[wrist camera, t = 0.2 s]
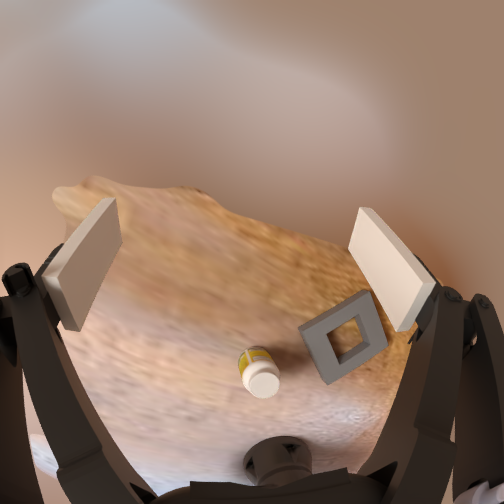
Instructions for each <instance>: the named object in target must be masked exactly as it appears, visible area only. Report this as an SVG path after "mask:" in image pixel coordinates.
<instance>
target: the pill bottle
mask: <svg viewBox="0 0 504 504" xmlns="http://www.w3.org/2000/svg"><path fill="white" fill-rule="evenodd" d="M238 366H239V370H240V374H241V378H242V381H243V384H244V386H245V388H246V389H247V390H248V391H250V392H251V393H252V394H253V395H254V396H255V397H257V398H261V399H265V398H269V397H272V396H273V395H275V394H276V393H277V391H278V390H279V387H280V382H279V381H280V372H279V370H278V368H277V366H276V364H275V363H274V361H273V360H272V358H271V356H270V355H269V353H268V352H267V351H266V350H265V349H263V348H261V347H250V348H248V349H246V350H244V351H243V352H242V353H241V355H240V356H239V359H238Z"/></svg>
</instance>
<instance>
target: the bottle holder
mask: <svg viewBox="0 0 504 504" xmlns="http://www.w3.org/2000/svg"><path fill="white" fill-rule="evenodd" d="M353 317H355V320H356V322H357V325H358V327H359V330H360V333H361V335H362V338H363V342H362V343H360V344H359V345H357V346H355V347H354V348H352V349H351V350H349V351H348V352H346V353H344V354H343V355H341V356H340V357H338V358H336V356H335V353H334V351H333V349H332V346H331V344H330V342H329V340H328V337H327V335H326V334H327V333H328V332H330V331H332V330H333V329H335V328H337V327H338V326H340V325H342V324H343V323H345V322H347V321H348V320H350V319H351V318H353ZM298 329H299V332H300V334H301V336H302V338H303V340H304V342H305V344H306V346H307V348H308V351H309V353H310V355H311V357H312V359H313V361H314V363H315V365H316V368H317V370H318V372H319V374H320V376H321V378H322V380H323V381H324V382H325V383H326V384H327V385H329V384H331V383H333V382H334V381H336V380H338V379H339V378H341V377H343V376H344V375H346V374H347V373H349V372H351V371H352V370H354V369H355V368H357V367H358V366H360V365H361V364H363V363H364V362H366V361H367V360H369V359H370V358H372V357H373V356H375V355H376V354H378V353H379V352H380V351H382V350H383V349H385V348H386V347H387V346H389V345H388V342H387V339H386V336H385V333H384V330H383V327H382V324H381V321H380V318H379V316H378V313H377V310H376V307H375V304H374V302H373V299H372V296H371V294H370V291H366V290H361V291H359V292H358V293H356V294H354V295H353V296H351V297H350V298H348V299H346V300H345V301H343V302H341V303H340V304H338V305H336V306H335V307H333V308H331V309H330V310H328V311H326V312H324V313H323V314H321V315H319V316H317V317H316V318H314V319H312V320H310V321H309V322H307V323H305V324H303V325H301V326H300V327H298Z"/></svg>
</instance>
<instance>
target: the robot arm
mask: <svg viewBox="0 0 504 504" xmlns="http://www.w3.org/2000/svg"><path fill="white" fill-rule="evenodd" d="M122 243H123V242H122V237H121V231H120V224H119V218H118V211H117V204H116V198H103V199H102V200H101V201H100V202H99V203H98V204H97V205H96V206H95V208H94V209H93V210H92V211H91V212H90V213H89V215H88V216H87V217H86V218H85V219H84V220H83V222H82V223H81V224H80V225H79V226H78V228H77V229H76V230H75V231H74V233H73V234H72V235H71V236H70V238H69V239H68V240H67V241H66V243H65V244H64V243H62V244H60V245H59V246H58V247H56V248H55V249H54V250H53V251H52V252H51V254H50V255H49V257H48V258H47V259H46V260H45V262H44V264H42V266H41V267H40V268H39V270H38V271H37V273H36V274H35V276H33V274H32V271H31V269H30V267H29V265H28V264H27V263H18V264H15V265H13V266H11V267H10V268H9V269H7V270H6V271H5V273H4V274H3V276H2V282H3V284H4V286H5V288H6V290H7V292H8V294H9V296H4V297H0V504H44V501H43V498H42V494H41V491H40V487H39V484H38V480H37V476H36V473H35V468H34V464H33V459H32V455H31V450H30V444H29V439H28V432H27V425H26V417H25V407H24V395H23V375H22V374H23V372H24V375H25V379H26V383H27V386H28V390H29V392H30V396H31V399H32V402H33V405H34V408H35V411H36V414H37V416H38V419H39V422H40V424H41V427H42V429H43V432H44V434H45V436H46V439H47V441H48V443H49V446H50V448H51V450H52V452H53V454H54V456H55V458H56V460H57V463H58V466H59V469H58V470H57V472H56V473H57V478H58V480H59V483H60V485H61V487H62V489H63V490H64V492H65V494H66V496H67V497H68V499H69V501H70V502H71V504H441V502H442V499H443V496H444V493H445V491H446V488H447V485H448V482H449V478H450V475H451V472H452V469H453V483H452V485H453V486H452V487H453V488H452V489H453V504H504V334H503V331H502V328H501V325H500V322H499V319H498V317H497V314H496V311H495V309H494V306H493V304H492V303H491V302H490V300H489V299H488V298H487V297H486V296H485V295H482V294H475V295H474V297H473V299H472V300H471V302H469V301H465V300H463V298H462V296H461V295H460V294H459V293H458V292H457V291H456V290H454V289H453V288H451V287H447V286H443V287H442V286H441V284H440V283H439V282H438V280H437V279H436V278H435V277H434V275H433V274H432V273H431V272H430V271H429V270H428V268H427V267H426V266H424V263H423V262H422V261H421V260H420V258H419V257H417V256H416V255H414V254H413V253H412V252H410V250H409V249H408V248H407V247H406V246H405V244H404V243H403V242H402V241H401V240H400V239H399V238H398V236H397V235H396V234H395V233H394V232H393V231H392V230H391V229H390V228H389V227H388V225H386V223H385V222H384V221H383V220H382V219H381V218H380V217H379V216H378V215H377V214H376V213H375V212H374V211H373V210H372V209H371V208H364V207H360V208H359V212H358V215H357V219H356V223H355V227H354V230H353V234H352V237H351V240H350V244H349V247H348V249H349V251H350V253H351V254H352V256H353V258H354V259H355V261H356V262H357V264H358V266H359V267H360V269H361V271H362V272H363V274H364V276H365V277H366V279H367V281H368V282H369V284H370V286H371V288H372V289H373V291H374V293H375V294H376V296H377V298H378V300H379V302H380V303H381V305H382V307H383V309H384V311H385V312H386V314H387V316H388V318H389V320H390V322H391V323H392V325H393V327H394V329H395V331H396V332H401V331H408V330H410V328H411V326H412V325H413V323H414V321H416V323H417V324H418V328H417V329H416V331H415V332H414V334H413V336H412V337H411V339H410V340H409V342H408V344H410V343H411V342H412V341H413V342H412V345H411V349H410V353H409V356H408V360H407V363H406V367H405V370H404V373H403V376H402V379H401V382H400V385H399V388H398V391H397V394H396V397H395V400H394V402H393V405H392V408H391V410H390V413H389V416H388V418H387V420H386V423H385V425H384V428H383V430H382V432H381V435H380V437H379V439H378V441H377V444H376V446H375V448H374V450H373V452H372V454H371V456H370V457H369V459H368V460H367V461H366V462H365V463H364V465H363V466H362V467H361V468H360V470H359V471H358V473H357V474H352V473H348V471H347V467H346V468H342V469H338V470H333V471H328V472H323V473H318V474H312V456H311V453H310V450H309V449H308V447H307V445H306V444H305V443H304V442H303V441H301V440H300V439H297V438H294V437H288V436H280V437H273V438H269V439H266V440H264V441H261V442H259V443H258V444H256V445H255V446H253V447H252V448H251V449H250V450H249V451H248V452H247V454H246V455H245V457H244V462H243V464H244V470H245V473H246V475H247V477H248V478H249V479H250V480H251V482H252V483H253V484H254V485H255V486H248V485H243V484H237V483H232V482H196V481H190V486H188V487H182V488H179V489H175V490H172V491H170V492H167V493H165V494H163V495H161V496H159V497H158V496H157V495H156V493H155V492H154V491H153V490H152V489H151V488H150V486H149V485H148V484H147V483H146V482H145V481H144V480H143V479H142V477H141V476H140V475H139V474H138V473H137V472H136V471H135V470H134V469H133V467H132V466H131V465H130V463H129V462H128V461H127V459H126V458H125V456H124V455H123V453H122V452H121V451H120V449H119V448H118V446H117V445H116V443H115V442H114V440H113V438H112V437H111V435H110V434H109V432H108V430H107V429H106V427H105V426H104V424H103V422H102V420H101V419H100V417H99V415H98V414H97V412H96V410H95V408H94V406H93V405H92V403H91V401H90V399H89V397H88V395H87V393H86V391H85V389H84V387H83V385H82V383H81V381H80V379H79V377H78V375H77V373H76V370H75V368H74V366H73V364H72V361H71V359H70V357H69V354H68V352H67V350H66V347H65V345H64V342H63V340H62V337H61V334H60V332H59V330H58V328H57V325H58V323H59V321H60V320H61V322H62V324H63V326H64V328H65V330H71V331H78V332H80V331H81V329H82V326H83V324H84V322H85V319H86V317H87V315H88V312H89V310H90V308H91V305H92V303H93V301H94V299H95V297H96V294H97V292H98V290H99V288H100V286H101V284H102V282H103V280H104V278H105V276H106V274H107V272H108V270H109V268H110V266H111V264H112V262H113V260H114V258H115V256H116V254H117V252H118V250H119V248H120V246H121V245H122ZM476 335H477V341H476V343H475V345H473V342H472V341H473V339H474V338H475V337H476ZM22 368H23V372H22ZM454 416H455V443H454V442H451V440H450V435H451V430H452V425H453V421H454ZM453 465H454V467H453Z"/></svg>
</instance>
